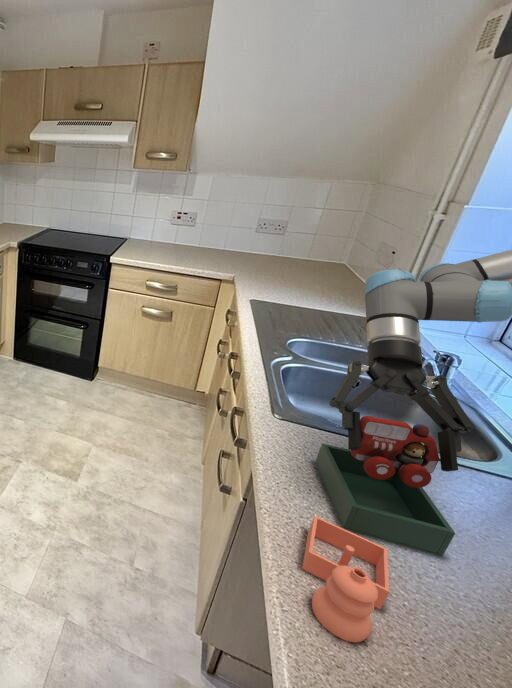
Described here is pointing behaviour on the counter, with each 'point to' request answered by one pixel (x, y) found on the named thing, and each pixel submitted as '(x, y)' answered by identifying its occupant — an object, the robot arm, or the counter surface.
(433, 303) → the robot arm
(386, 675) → the counter surface
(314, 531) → the pottery
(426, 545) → the toy tray
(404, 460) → the toy fire truck
